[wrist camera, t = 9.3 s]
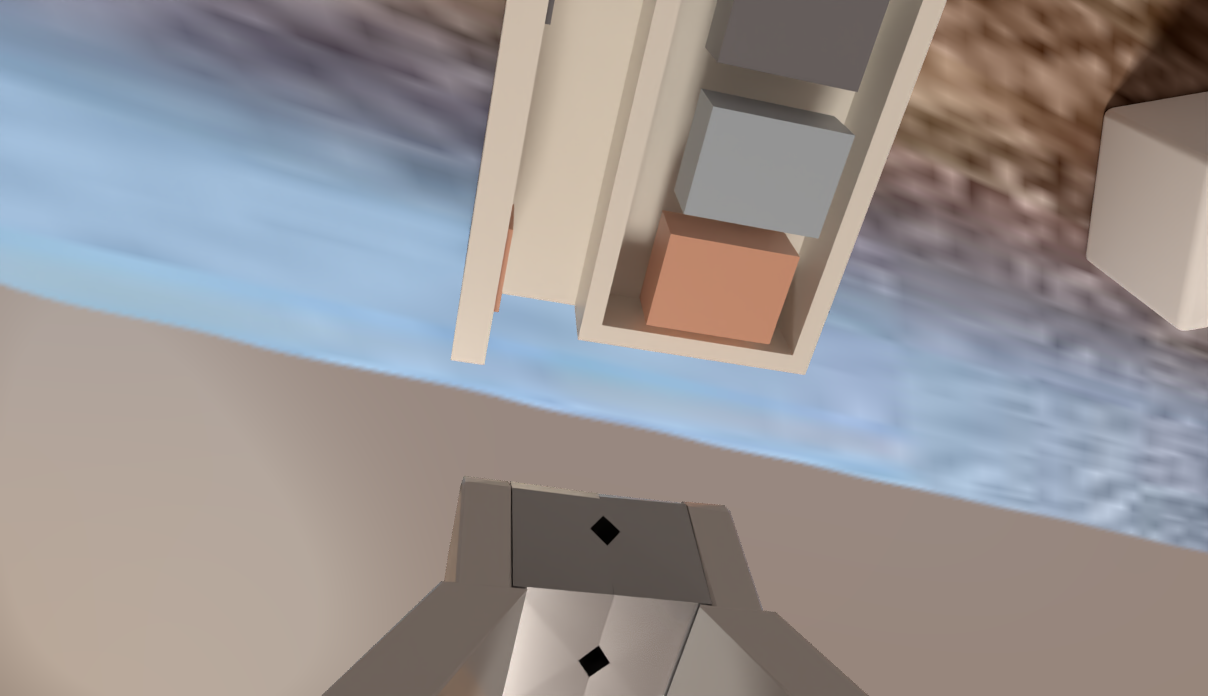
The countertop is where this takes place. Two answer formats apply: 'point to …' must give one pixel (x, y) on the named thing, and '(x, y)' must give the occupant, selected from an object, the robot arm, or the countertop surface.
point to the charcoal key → (798, 38)
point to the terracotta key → (717, 277)
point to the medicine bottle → (1155, 206)
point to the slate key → (761, 164)
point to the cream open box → (649, 166)
